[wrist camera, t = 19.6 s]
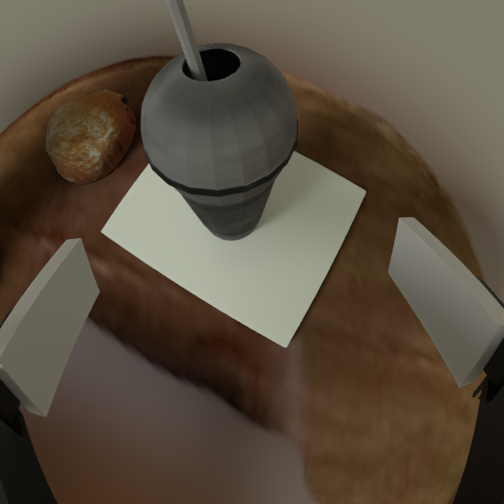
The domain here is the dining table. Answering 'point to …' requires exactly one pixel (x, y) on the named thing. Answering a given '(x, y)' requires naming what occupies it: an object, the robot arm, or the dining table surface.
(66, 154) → the bread roll
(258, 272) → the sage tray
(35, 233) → the dining table surface
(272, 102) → the beverage cup
